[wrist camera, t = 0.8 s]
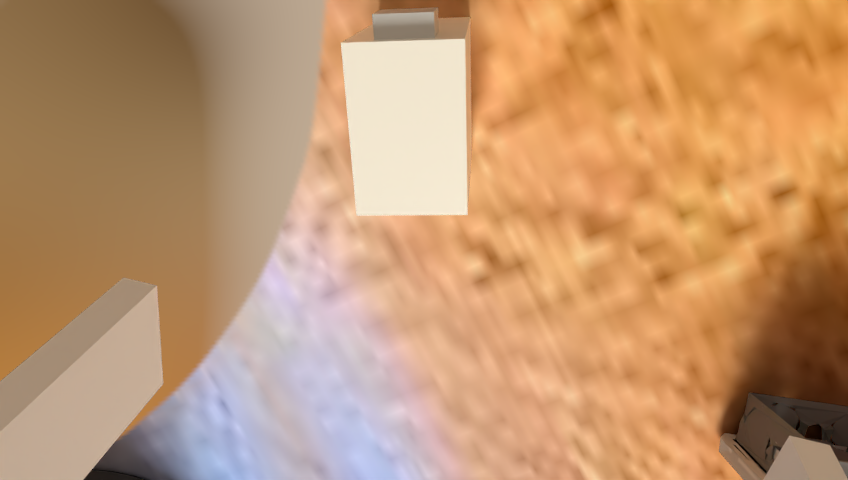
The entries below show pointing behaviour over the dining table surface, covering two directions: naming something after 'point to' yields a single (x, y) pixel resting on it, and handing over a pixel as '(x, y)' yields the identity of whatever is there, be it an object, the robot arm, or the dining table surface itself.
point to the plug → (410, 113)
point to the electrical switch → (781, 432)
